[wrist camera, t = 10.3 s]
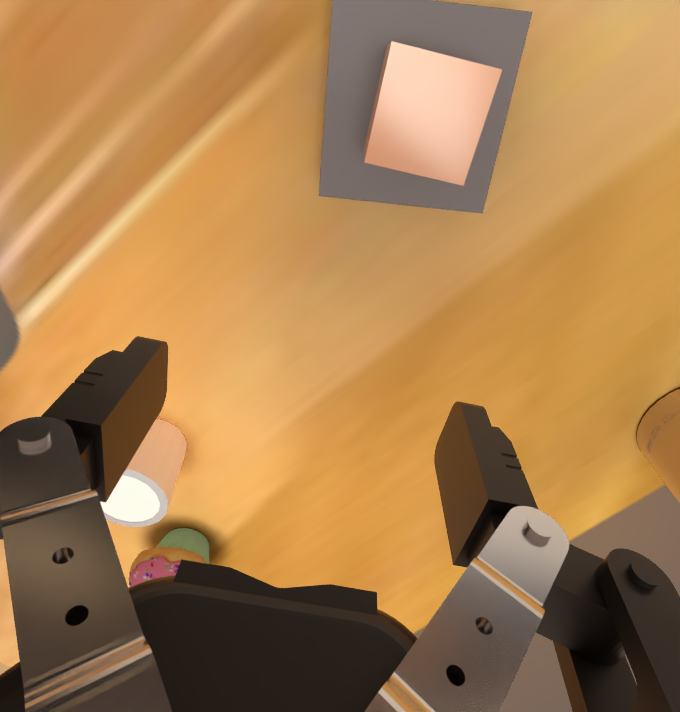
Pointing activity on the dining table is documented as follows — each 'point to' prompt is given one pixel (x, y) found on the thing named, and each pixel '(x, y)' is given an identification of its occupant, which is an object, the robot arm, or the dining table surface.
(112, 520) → the light grey piece
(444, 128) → the terracotta cube
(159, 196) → the dining table surface
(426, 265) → the dining table surface
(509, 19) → the charcoal block
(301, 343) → the dining table surface
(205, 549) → the cupcake
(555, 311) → the dining table surface
